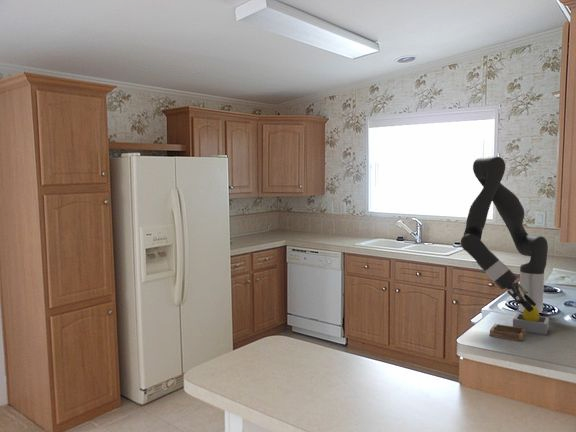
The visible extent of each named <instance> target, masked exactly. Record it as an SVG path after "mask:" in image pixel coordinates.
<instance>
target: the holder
mask: <svg viewBox="0 0 576 432" xmlns="http://www.w3.org/2000/svg"><path fill="white" fill-rule="evenodd" d="M512 326H513V327H520V328H526V333H533V334H537V335H545V336H547V334H548V331H549V328H550V317H549V316H541V315H539V321H538V322H535V321H528V320H524V319H523V313H522V312H521V313H519V312H516V314H515V315H514V317H513V319H512Z"/></svg>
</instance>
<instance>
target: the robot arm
mask: <svg viewBox="0 0 576 432" xmlns="http://www.w3.org/2000/svg"><path fill="white" fill-rule="evenodd" d="M472 170H473V173H474V176H475V177H476V179H477V180H478V182H479V184H480V185H481V186H482V189H481V191H480V192H479V194H478V195H477V197H476V198H475V199H474V200H473V202H472V203H471V205H470V207H469V211H468V215H467V219H466V225H465V229H464V232H463V236H462V237H461V239H460V244H461V245H460V246H461V248H462V249H463V250H464V251H465V252H467V254H469V255H470V256H471V258H472V259H474V260H475V262H476V263H477V265H478V266H479V267H480V268H481V269H482V270H483V272H484V273H486V275H487V276H488V277H489V278H490V279H491V280H492V281H493V283H494V284H495V285H496V286H497V287H498V288H499V289H500V290H501V291H503V290H505V289H507V291H506V292H507V294H508V295H510V296H511V297H512V299H513V300H514V301H515V302H516V303H517V304H518V311H519V312H521V313H523V311H524V309H526V310H527V311H528V312H531V311H532V310H533V309H534V308H533V307H532V306H531V305H533V306H534V307H536V308H537V309H538V311H539V313H540V312H542V311H543V308H544V288H545V287H544V286H545V285H544V284H545V283H544V282H545V269H546V266H547V261H548V250H549V245H548V240H547V238H545V237H544V236H541V235H531V234H529V233H528V232H527V230H526V229H525V227H524V225H523V224H524V219H525V209H524V206H523V204H522V203H521V201H520V200H519V197H518V196H517V194H515V193H514V192H512V191H511V190H510V189H508V188H507V187H506V186H504V185H503V184H502V183H501V181H502V179H503V178H504V174H505V172H506V161H505V160H504V158H502V157H501V156H497V155H496V156H495V155H494V156H483V157H478V158H476V159H475V160H474V161H473V165H472ZM492 203H493V205H494V206H495V208H496V210H497V212H498V214H499V215H500V217H501V219H502V221H503V222H504V225H505V226H506V228H507V230H508V232H509V234H510V236H511V239H512V241H513V243H514V246H515V248H516V250H517V252H518V253H519V254H520V255H523V256H525V257H530V258H529V259H530V260H529V262H527V263H523V264H521V265H520V266H519V282H515V281H516V280H517V279H518V276H516V274H515V273H514V272H513V271H511V269H510V268H509V267H508V266H507V265H506V264H505V263H504V262H502V261H501V260H500V259H499V258H498V257H497V256H496V255H495V254H494V253H493V252H492V251H491V250H489V248H488V247H487V246H486V245H485V244H484V242H483V241H482V236H483V230H484V228H485V226H486V222H487V218H488V214H489V211H490V207H491V204H492Z"/></svg>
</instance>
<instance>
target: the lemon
mask: <svg viewBox="0 0 576 432" xmlns="http://www.w3.org/2000/svg"><path fill="white" fill-rule="evenodd" d="M531 306H532V307H533V308H534V309H533V310H532V311H531V312H528V311H527V310H526V309H524V311H523V312H522V314H523V319H524V320H528V321H535V322H538V321H539V316H540V314H539V311H538V309H537V308H536V307H534V306H533V305H531Z"/></svg>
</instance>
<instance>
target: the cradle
mask: <svg viewBox="0 0 576 432" xmlns="http://www.w3.org/2000/svg"><path fill="white" fill-rule="evenodd" d="M526 334H527V332H526V328H520V327H513V325H506V324H500V323H494V324H493V326H492V327H491V328H490V329H489V337H494V338H495V337H496V338H501V339H507V340H513V341H518V342H524V341H523V340H524V339H525V336H526Z"/></svg>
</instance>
